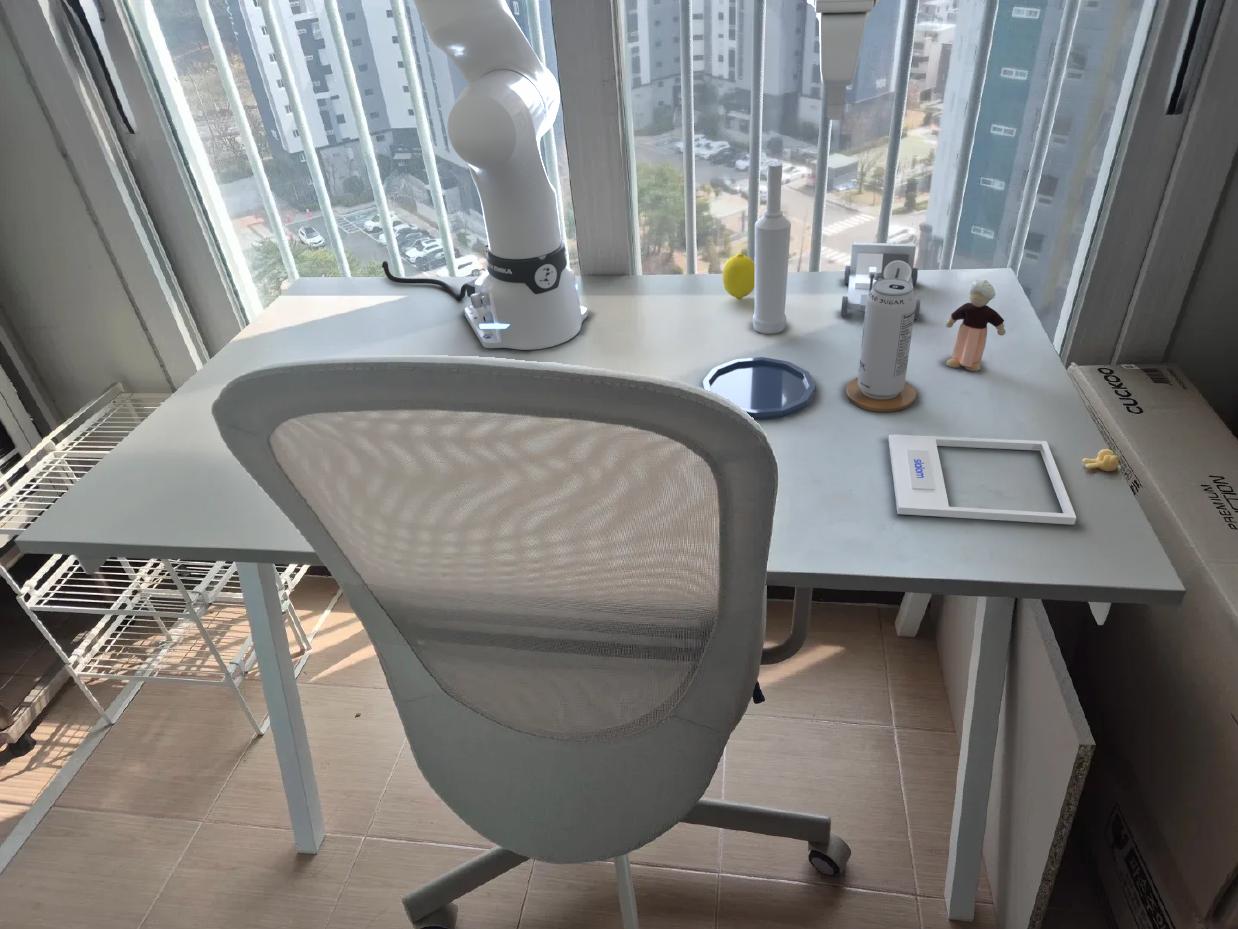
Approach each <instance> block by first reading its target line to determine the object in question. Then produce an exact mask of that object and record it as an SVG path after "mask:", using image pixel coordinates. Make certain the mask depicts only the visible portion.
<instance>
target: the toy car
mask: <svg viewBox="0 0 1238 929" xmlns="http://www.w3.org/2000/svg"><path fill="white" fill-rule="evenodd" d="M916 250H917V243H892V242H891V243H889V242H888V243H887V242H885V243H884V242H855V241H853V242H852V244H851V253H850V254H851V255H850V264H849V265H845V267H844V277H843V284H844V285H848V289H847V296H846V295H845V296H842V298H841V310H840V316H843V317H847V314H848V310H852V311H859V312H865V307H866V298H867V295H868V293H869V292H870V291H871V289H872V288H873V283H874V282H875V281H877V280H880V279H885V278H898V279H903V280H906V281H909V282H910V283H911V284H912V285H913V287H917V283H918V275H919V269H918V267H914V264H915V257H916ZM916 300H917V301H916V308H915V315H914V320H918V319H919V317H920V310H921V299H919V298H918V299H917V298H916Z"/></svg>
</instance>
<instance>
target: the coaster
mask: <svg viewBox="0 0 1238 929" xmlns="http://www.w3.org/2000/svg"><path fill="white" fill-rule="evenodd" d="M857 383H858V377H855V378H854V379H852V380H850V382H849V383H848V384H847V386H846V388H845V396H846V398H847V399H848V401H849V402H851V403H852V404H853V405H855V406H856V407H858V408H861V409H863V410H867V411H871V412H875V413H893V412H898V411H899V412H900V411H902V410H905V409H907V408H909V407H911V406H912V405H913V404H914V402H915V401H916V397H917V392H916V389H915V387H914V386H913V385H912V384H911V383H910V382H908V381H906V380H905V385H904V388H903V390H902V391H900V392H899V394H898V395H897V396H896V397H894V398H891V399H886V400H879V399H873V398H870V397H867V396H866V395H864V394H863V393H862V391H861V389H860V387H859V386H858V384H857Z"/></svg>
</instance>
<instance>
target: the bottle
mask: <svg viewBox="0 0 1238 929" xmlns="http://www.w3.org/2000/svg"><path fill="white" fill-rule="evenodd" d="M766 173H767V174H766V178H767V181H766V182H767V184H766V209H765V210H764V211H763V214H762V216H761V217H760V218H759V219H757V220H756V222H754V264H755V287H754V312H753V313H754V314H753V315H752V326H753V329H754V331H756V332H758V333H761V334H768V335H771V334H778V333H780V332H782V331H784V329H785V327H786V323H787V315H786V300H787V299H786V298H787V288H788V287H787V286H788V272H789V259H790V258H789V257H790V243H791V229H792V223H791V221H790V220H789V218H787V217H786V216H785V215H783V214H784V212H783V211H782V210H781V205H782V204H781V203H782V202H781V200H782V178H783V162H780V161H772V162H768V163H767V172H766Z"/></svg>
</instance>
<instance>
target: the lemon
mask: <svg viewBox="0 0 1238 929" xmlns="http://www.w3.org/2000/svg"><path fill="white" fill-rule="evenodd" d="M722 284H723V287H724V289H725V291H726V292H727V294H729V295H730V296H732V297H735V298H736V300H738V301H739V300H742V299H743V298H744V297H746V296H747V297H748V296H749V295H750V294H751V293H752V292H753V291H754V290H755V261H754V260H753V259H752V258H751V257H749V256H748V255H745V254H743V253H741V252H738V253H737V254H735V255H733V256H731V257H730V258H729V259H728V260H727V261H726V263H725V265H724V267H723V272H722Z"/></svg>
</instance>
